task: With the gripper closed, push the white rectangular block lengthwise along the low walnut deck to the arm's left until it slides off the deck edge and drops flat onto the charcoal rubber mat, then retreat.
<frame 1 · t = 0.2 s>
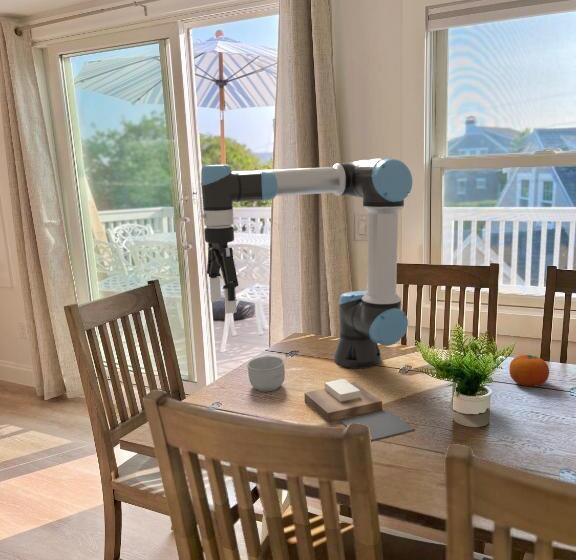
hand: (223, 306, 147), 28 cm above the table, fingers open, 13 cm apart
deck: (342, 405, 150), on the table
mug: (469, 404, 149), on the table
teacup: (267, 386, 165), on the table
fruit: (528, 384, 161), on the table
white rectangular block: (342, 393, 151), point 2 cm above the table, touching deck
mat: (376, 425, 138), on the table
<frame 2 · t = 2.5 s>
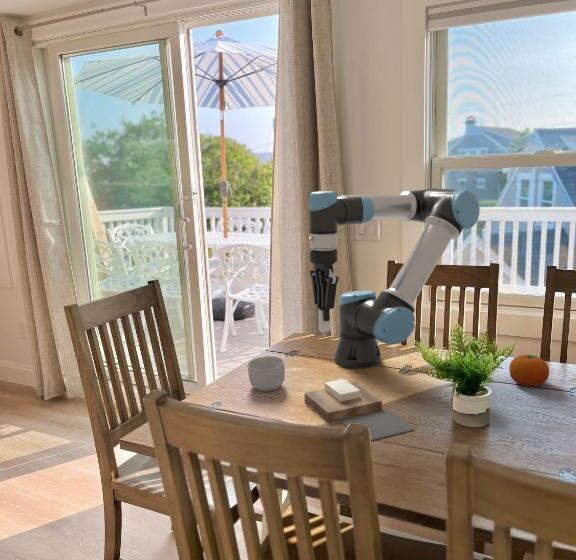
hand: (324, 330, 157), 18 cm above the table, fingers closed
nothing on the table moved.
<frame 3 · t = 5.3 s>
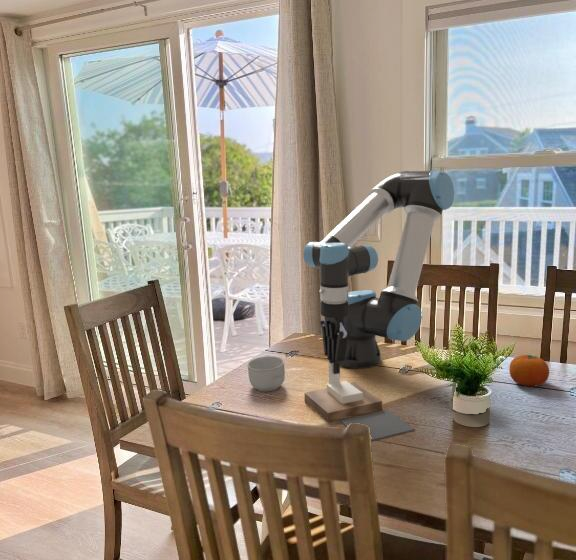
hand: (334, 383, 154), 4 cm above the table, fingers closed
white rectangular block: (344, 395, 150), point 3 cm above the table, touching deck, gripper
everything else where it was.
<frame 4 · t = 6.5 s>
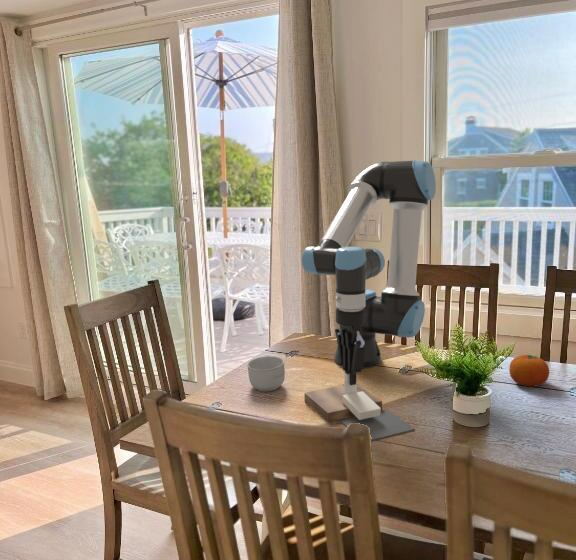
hand: (350, 394, 146), 4 cm above the table, fingers closed
white rectangular block: (360, 408, 142), point 2 cm above the table, tilted 7°
everything else where it was.
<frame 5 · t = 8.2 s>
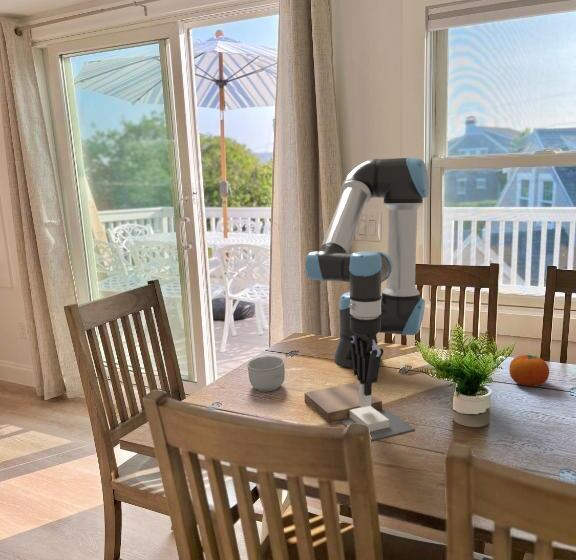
hand: (365, 405, 140), 4 cm above the table, fingers closed
white rectangular block: (368, 422, 139), resting on mat
everything else where it was.
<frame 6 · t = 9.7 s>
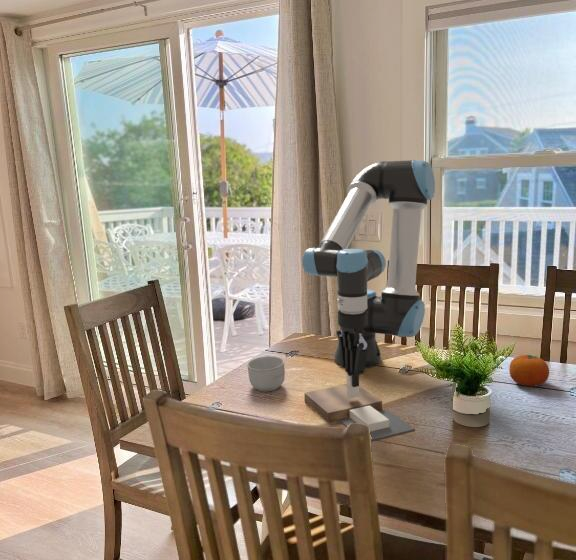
hand: (352, 396, 147), 4 cm above the table, fingers closed
nothing on the table moved.
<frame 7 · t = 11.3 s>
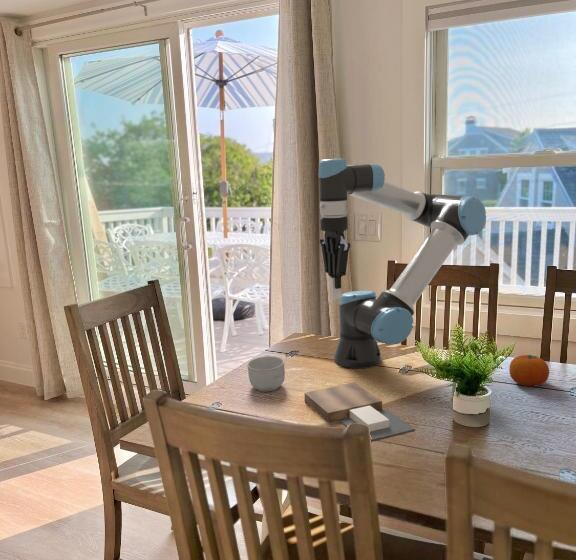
hand: (335, 298, 158), 26 cm above the table, fingers closed
nothing on the table moved.
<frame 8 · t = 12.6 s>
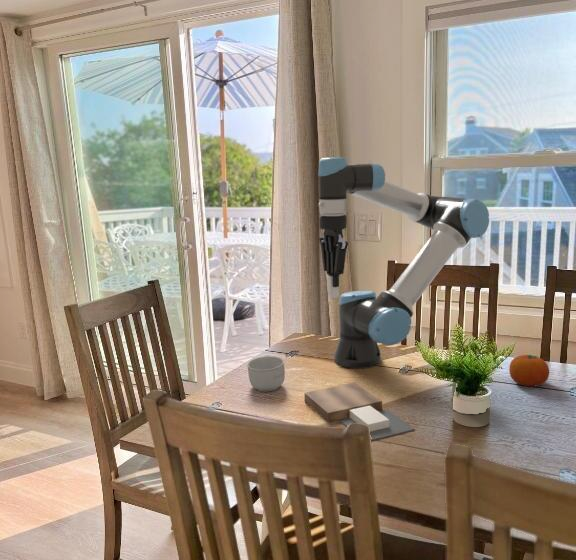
hand: (333, 297, 159), 26 cm above the table, fingers closed
nothing on the table moved.
at the end: white rectangular block resting on mat; white rectangular block inside the target area on the mat (2.3 cm from its centre), point 0.3 cm above the mat's base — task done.
